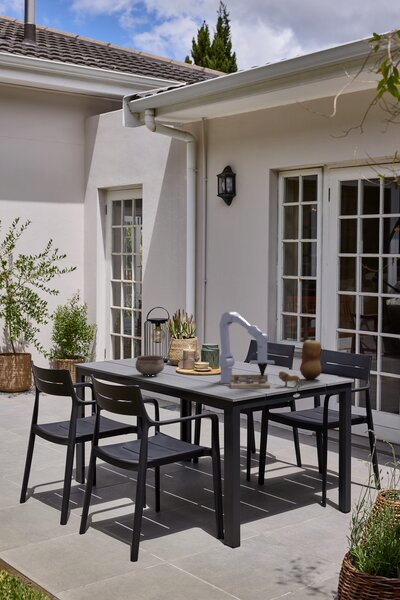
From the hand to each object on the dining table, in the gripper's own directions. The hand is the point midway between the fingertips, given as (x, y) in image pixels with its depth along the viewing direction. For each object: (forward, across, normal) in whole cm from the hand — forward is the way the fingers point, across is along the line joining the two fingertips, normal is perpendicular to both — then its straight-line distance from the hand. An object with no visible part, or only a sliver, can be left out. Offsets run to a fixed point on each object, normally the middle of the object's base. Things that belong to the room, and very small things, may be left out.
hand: (262, 376), depth 476 cm
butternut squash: (+6, +33, +25) cm, 42 cm away
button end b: (+4, 0, 0) cm, 4 cm away
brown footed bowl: (+6, -69, +44) cm, 82 cm away
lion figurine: (+6, +16, -1) cm, 18 cm away
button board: (+6, -8, 0) cm, 10 cm away
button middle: (+4, -8, 0) cm, 9 cm away
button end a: (+5, -15, 0) cm, 16 cm away
